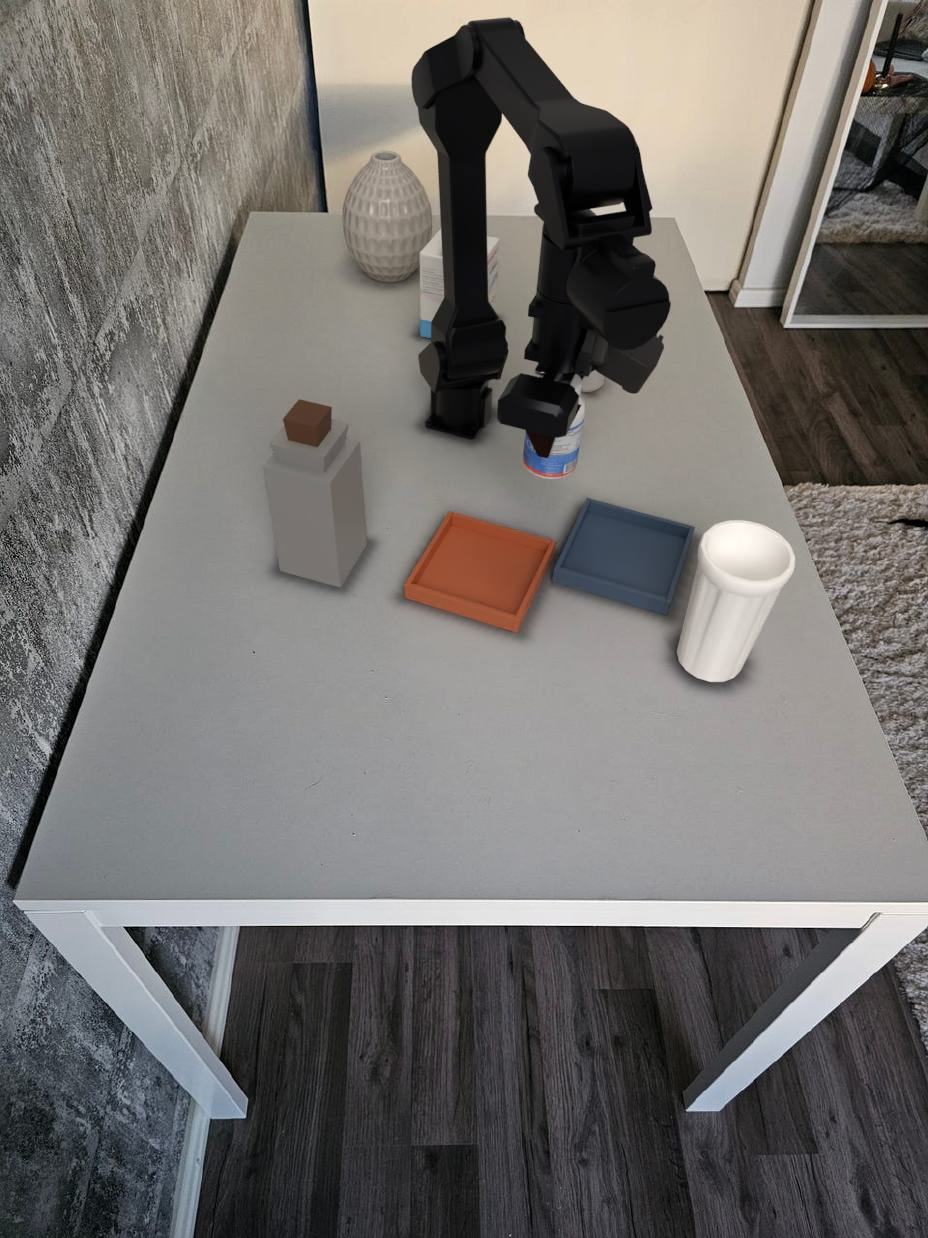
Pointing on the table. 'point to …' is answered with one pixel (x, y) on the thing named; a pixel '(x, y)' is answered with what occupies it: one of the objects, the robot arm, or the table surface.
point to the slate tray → (624, 555)
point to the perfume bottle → (316, 495)
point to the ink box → (435, 283)
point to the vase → (387, 218)
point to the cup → (732, 596)
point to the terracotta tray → (481, 571)
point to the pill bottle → (558, 447)
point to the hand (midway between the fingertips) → (551, 439)
